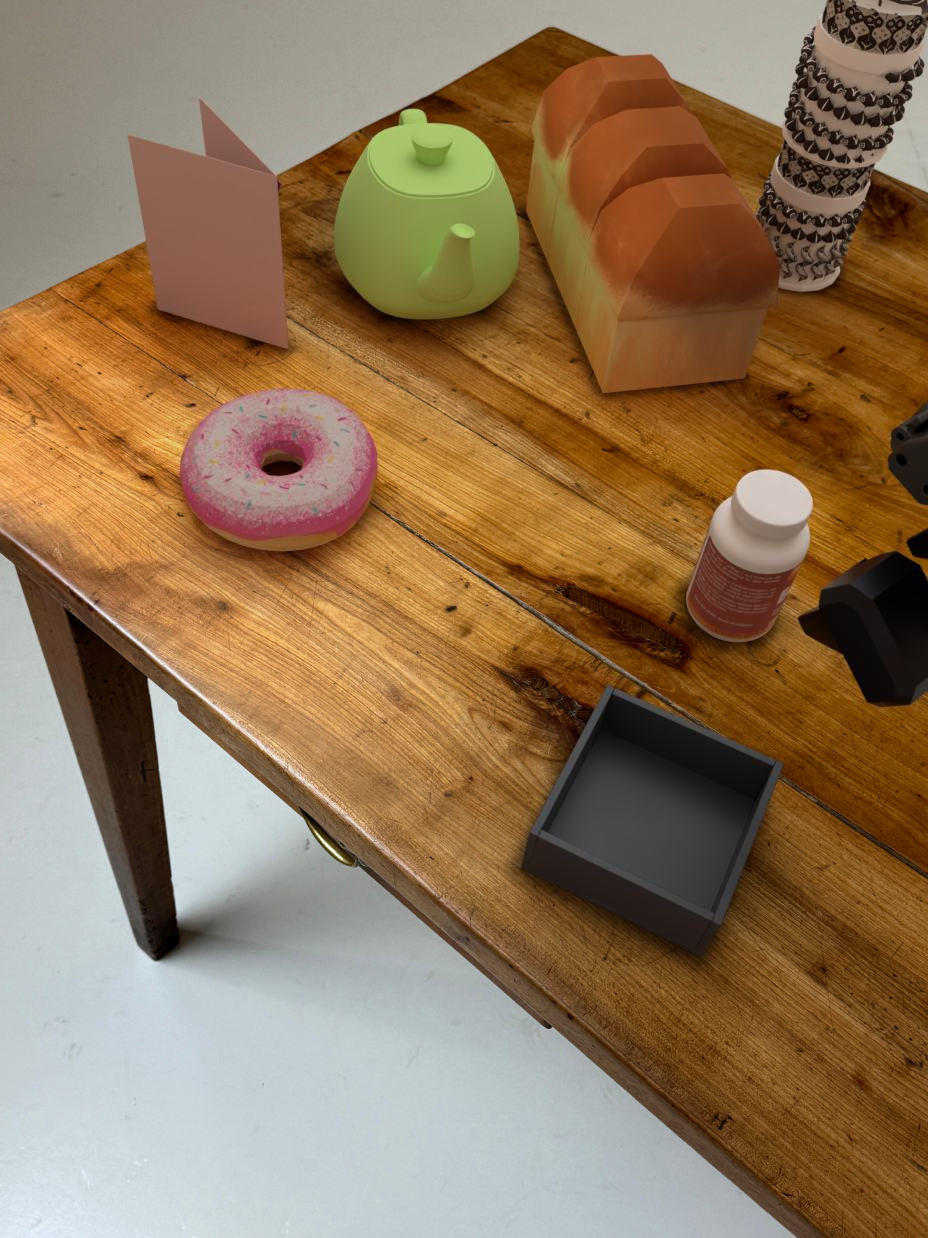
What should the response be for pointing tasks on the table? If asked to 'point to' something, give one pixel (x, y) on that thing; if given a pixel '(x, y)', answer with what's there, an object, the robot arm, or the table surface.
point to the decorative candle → (838, 132)
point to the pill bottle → (750, 556)
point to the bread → (646, 229)
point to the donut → (279, 505)
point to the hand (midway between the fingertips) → (858, 585)
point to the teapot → (427, 222)
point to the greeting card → (213, 232)
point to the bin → (653, 819)
